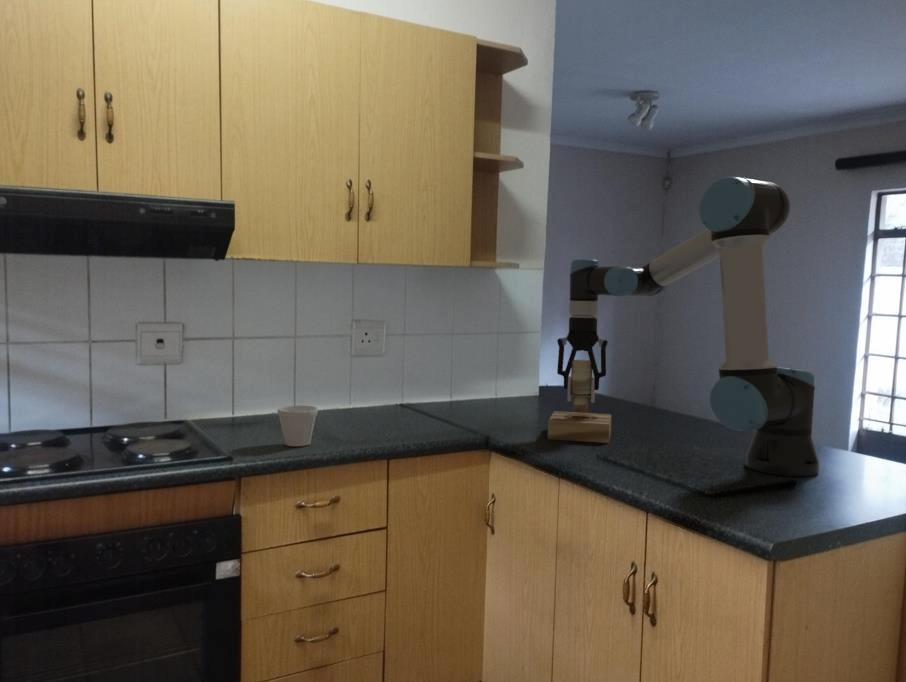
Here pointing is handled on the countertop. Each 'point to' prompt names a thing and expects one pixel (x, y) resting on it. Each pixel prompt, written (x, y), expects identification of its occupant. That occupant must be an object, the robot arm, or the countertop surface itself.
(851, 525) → the countertop surface
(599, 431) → the block
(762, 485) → the countertop surface
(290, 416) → the cup
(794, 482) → the countertop surface
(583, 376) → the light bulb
